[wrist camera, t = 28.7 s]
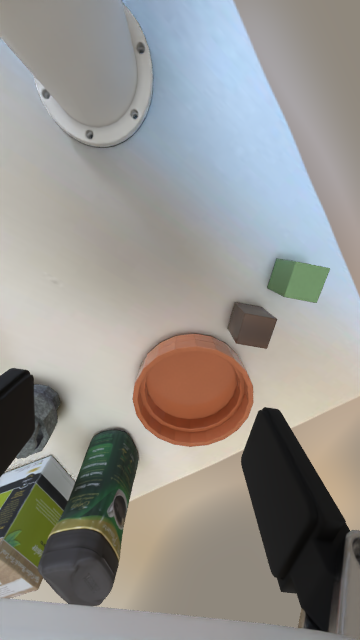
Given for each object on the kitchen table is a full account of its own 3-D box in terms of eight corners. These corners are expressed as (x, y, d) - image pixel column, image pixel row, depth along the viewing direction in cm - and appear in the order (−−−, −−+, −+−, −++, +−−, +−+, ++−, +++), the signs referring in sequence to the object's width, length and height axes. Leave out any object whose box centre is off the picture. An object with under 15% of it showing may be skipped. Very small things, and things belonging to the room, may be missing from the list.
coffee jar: (86, 432, 41) (15, 576, 23) (127, 423, 40) (86, 565, 22) (105, 469, 44) (56, 621, 26) (144, 461, 43) (119, 612, 26)
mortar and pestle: (33, 427, 40) (-24, 500, 29) (1, 387, 37) (-77, 450, 26) (87, 408, 39) (49, 476, 28) (58, 365, 36) (2, 420, 25)
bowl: (146, 323, 34) (141, 336, 29) (257, 342, 35) (269, 358, 30) (133, 414, 39) (127, 437, 35) (228, 428, 40) (235, 453, 36)
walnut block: (234, 302, 33) (244, 313, 27) (262, 307, 33) (277, 319, 28) (227, 328, 34) (235, 343, 29) (253, 332, 34) (267, 349, 29)
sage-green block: (276, 258, 31) (296, 261, 25) (305, 264, 31) (330, 268, 26) (266, 288, 32) (283, 296, 27) (294, 293, 32) (316, 303, 27)
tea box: (21, 507, 47) (-45, 617, 33) (-10, 476, 44) (-98, 583, 30) (81, 486, 45) (37, 595, 31) (52, 453, 42) (-10, 556, 28)
